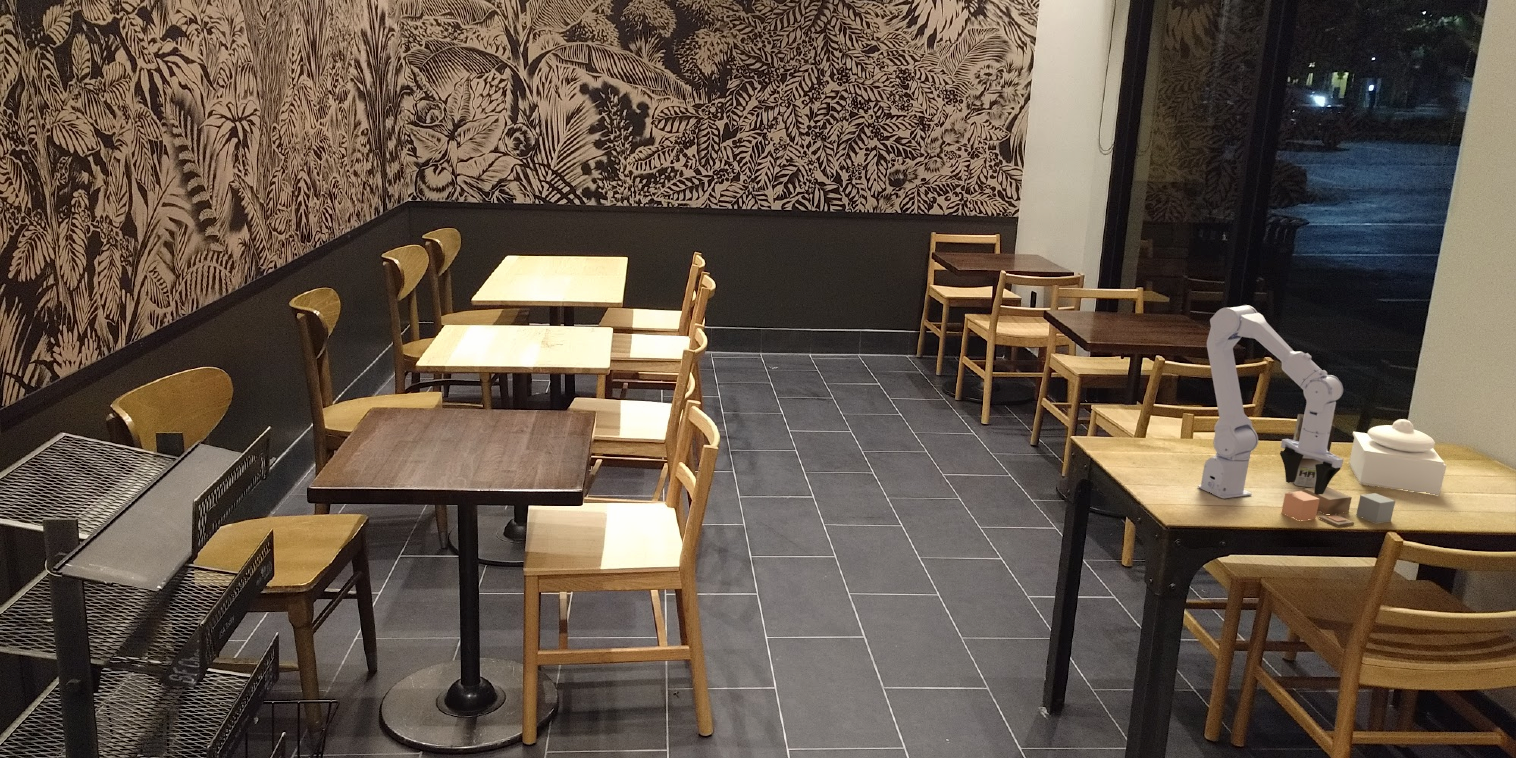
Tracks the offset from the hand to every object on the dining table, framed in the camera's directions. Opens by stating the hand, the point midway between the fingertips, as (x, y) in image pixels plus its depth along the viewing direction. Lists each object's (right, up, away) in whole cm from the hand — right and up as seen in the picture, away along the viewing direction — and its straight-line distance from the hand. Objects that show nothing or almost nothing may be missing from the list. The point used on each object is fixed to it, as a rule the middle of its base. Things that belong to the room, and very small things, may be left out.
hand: (1304, 487), depth 250 cm
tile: (+7, -8, 0) cm, 10 cm away
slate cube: (+17, -7, +4) cm, 19 cm away
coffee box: (+12, -1, +26) cm, 29 cm away
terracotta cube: (-1, -7, +2) cm, 7 cm away
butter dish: (+37, -1, +32) cm, 49 cm away
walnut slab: (+9, -6, +8) cm, 13 cm away
